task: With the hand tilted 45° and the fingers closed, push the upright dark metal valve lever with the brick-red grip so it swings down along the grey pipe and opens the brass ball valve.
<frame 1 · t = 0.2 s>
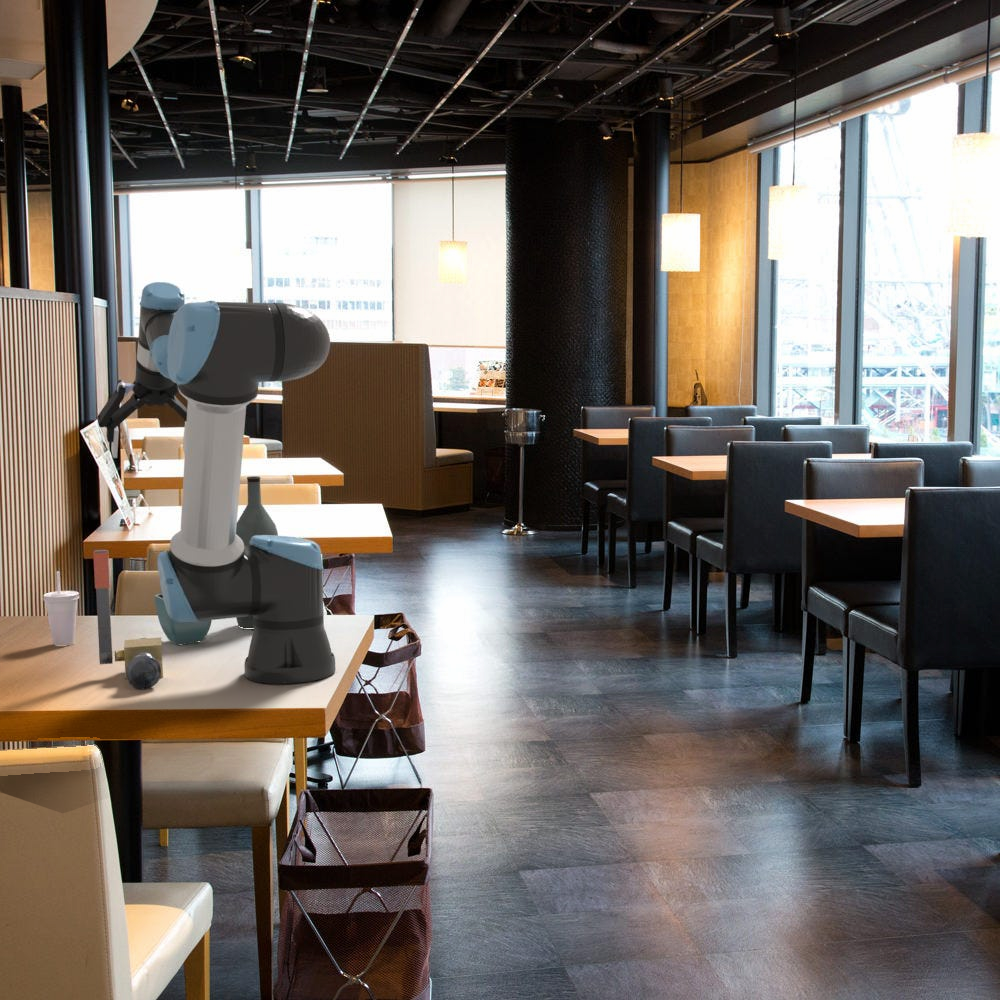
hand: (150, 452, 235), 35 cm above the table, tool tilted 35°, fingers open, 13 cm apart
smoothie: (63, 645, 226), on the table
flower pot: (185, 642, 227), on the table
bottle: (258, 626, 241), on the table
lever: (103, 607, 200), point 12 cm above the table, hinge at 0.0°
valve: (144, 678, 200), on the table
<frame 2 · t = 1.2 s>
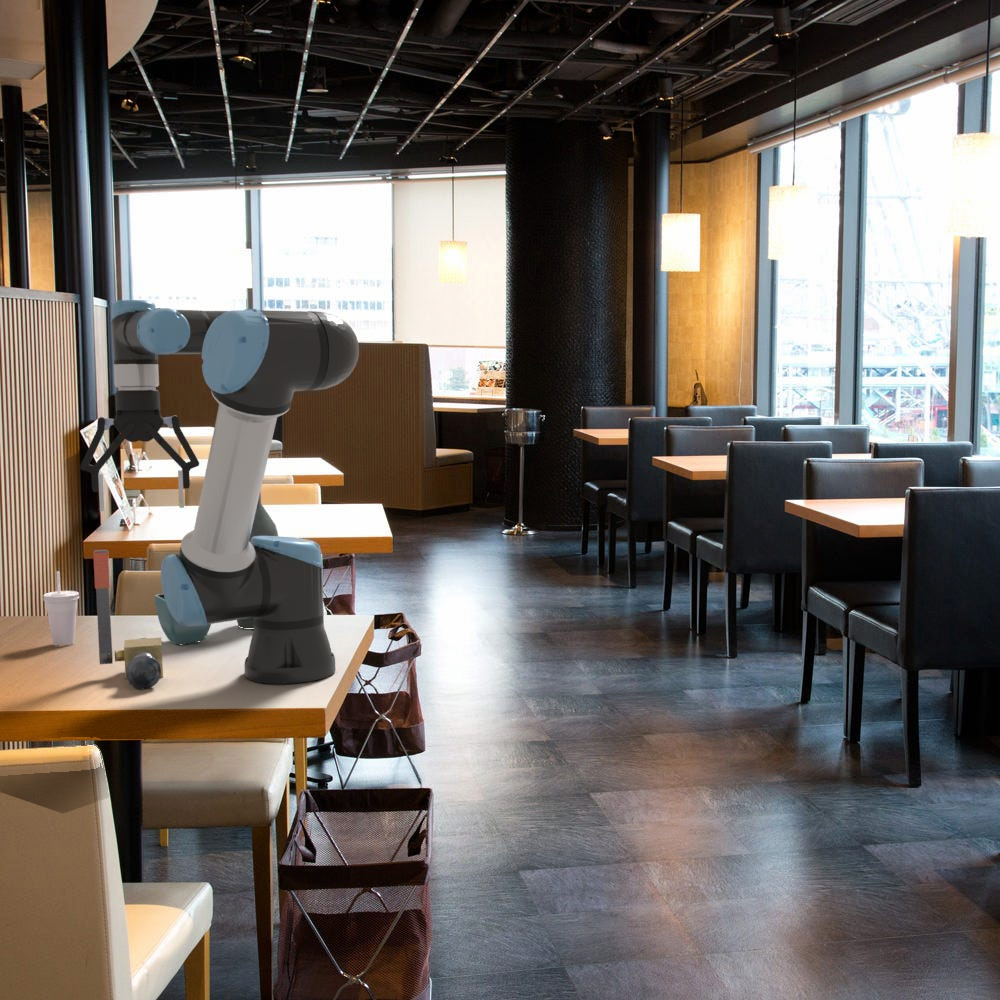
hand: (142, 508, 214), 27 cm above the table, tool pointing down, fingers open, 13 cm apart
nothing on the table moved.
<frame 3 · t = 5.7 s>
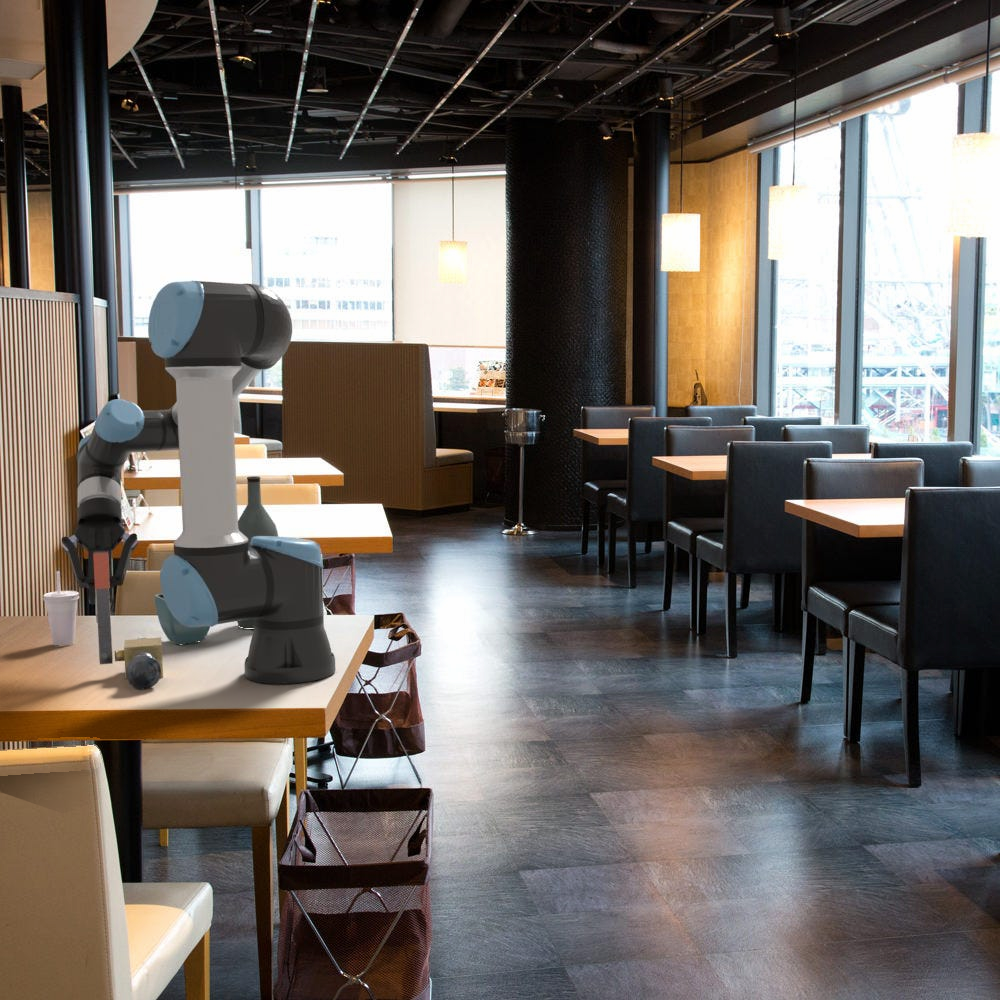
hand: (100, 618, 202), 10 cm above the table, tool tilted 45°, fingers closed
lever: (103, 607, 200), point 12 cm above the table, hinge at 1.4°, touching gripper
everything else where it was.
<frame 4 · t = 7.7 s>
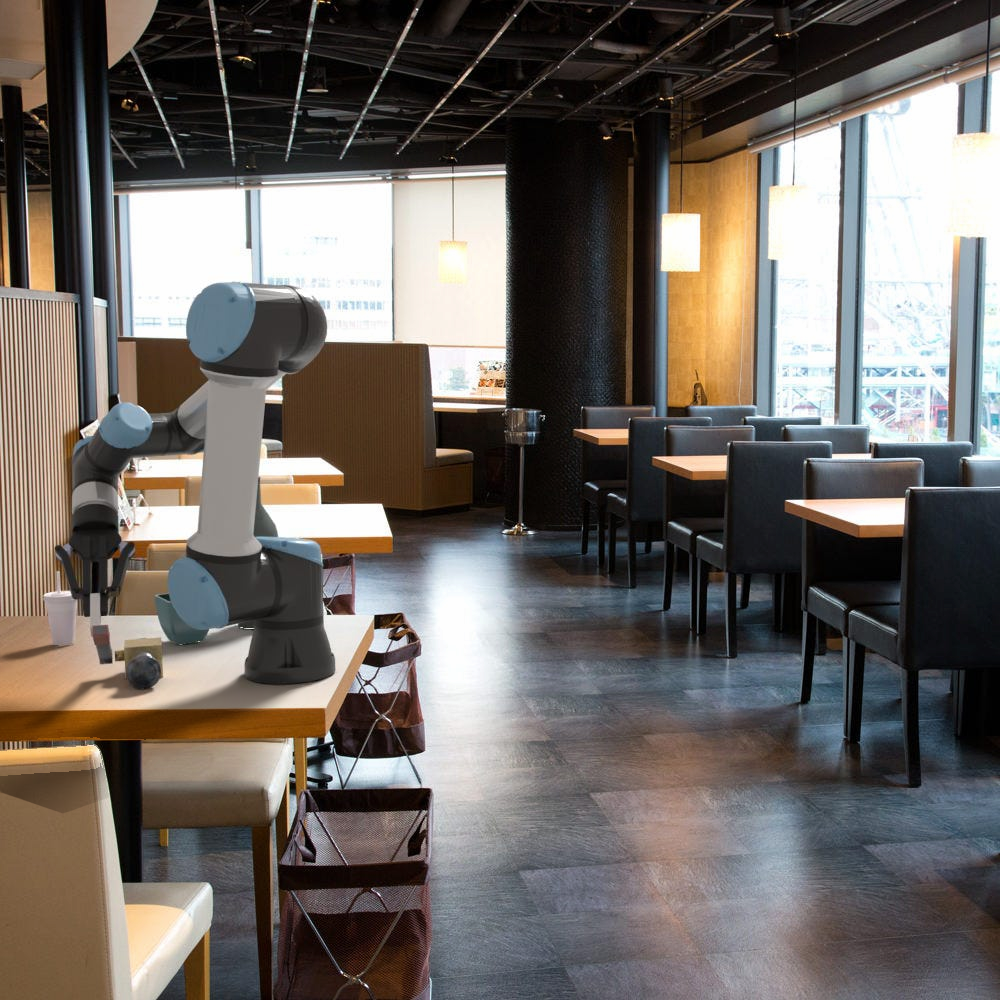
hand: (95, 631, 191), 10 cm above the table, tool tilted 45°, fingers closed
lever: (103, 644, 193), point 7 cm above the table, hinge at 63.8°, touching gripper
everything else where it was.
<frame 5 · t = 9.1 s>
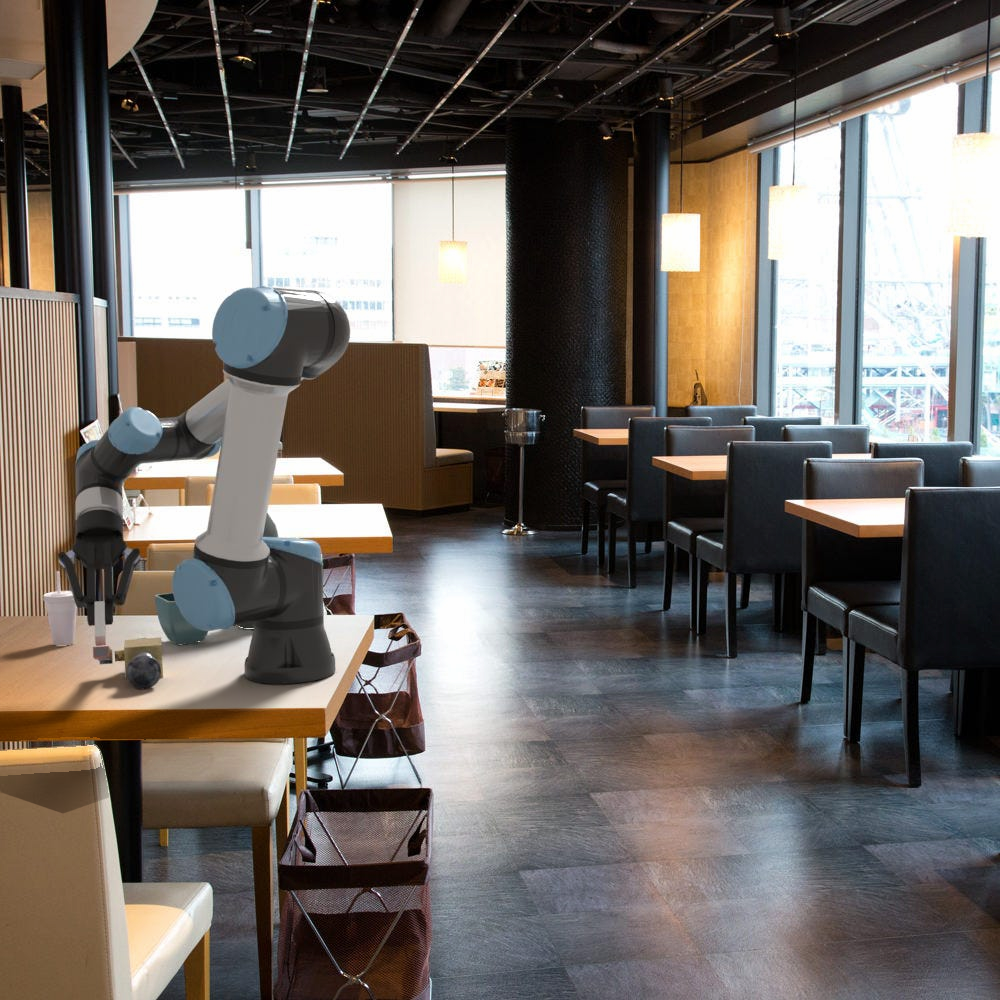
hand: (100, 640, 186), 10 cm above the table, tool tilted 45°, fingers closed
lever: (103, 654, 193), point 6 cm above the table, hinge at 74.5°, touching gripper
everything else where it was.
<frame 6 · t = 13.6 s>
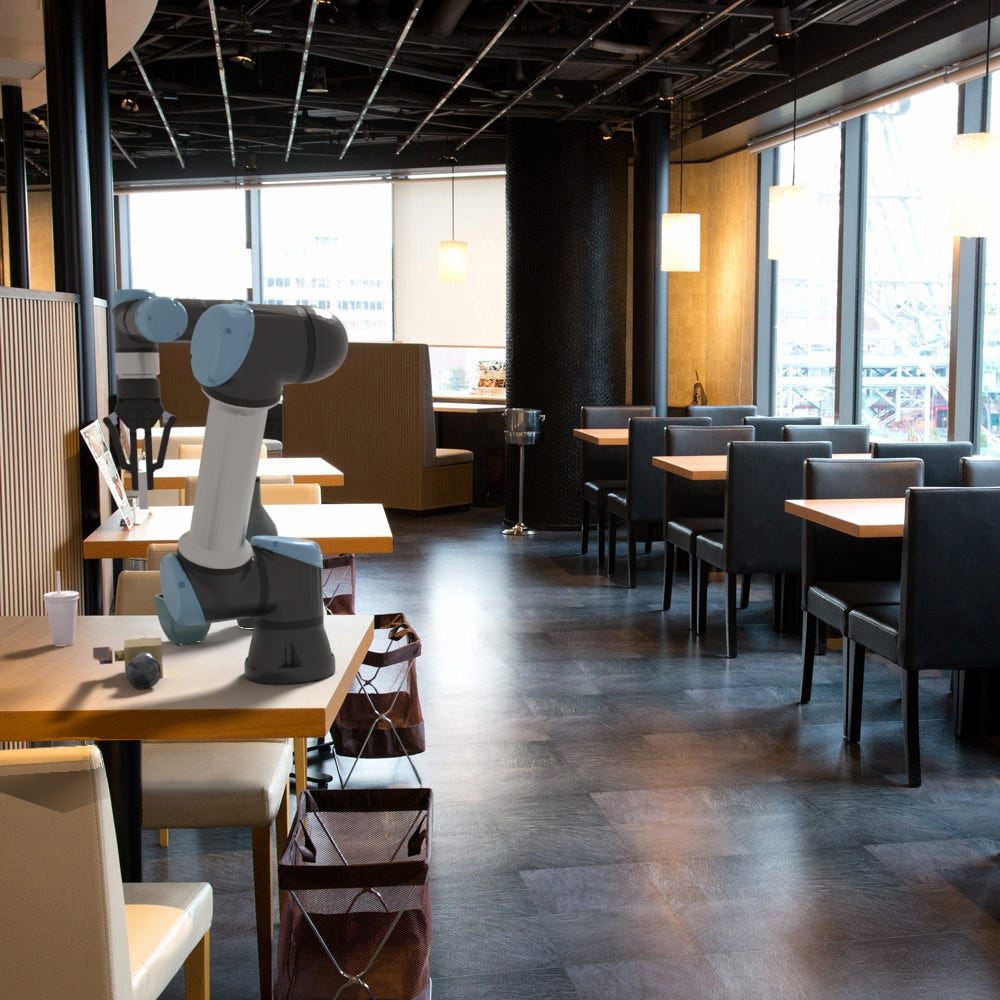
hand: (143, 508, 216), 26 cm above the table, tool pointing down, fingers closed
lever: (103, 654, 193), point 6 cm above the table, hinge at 74.8°
everything else where it was.
at the end: lever at +75° (first picture: +0°) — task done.
